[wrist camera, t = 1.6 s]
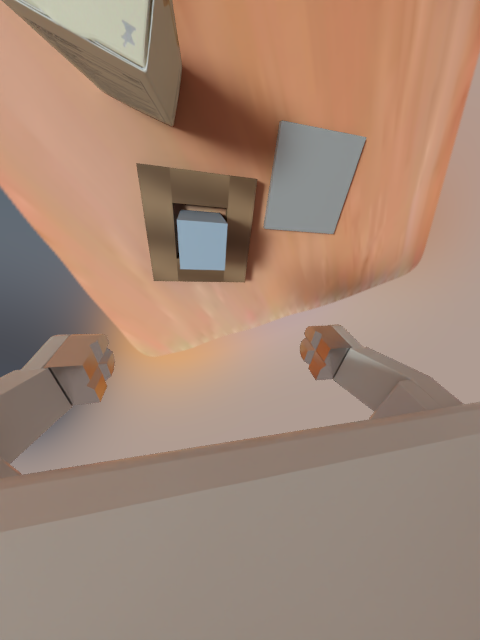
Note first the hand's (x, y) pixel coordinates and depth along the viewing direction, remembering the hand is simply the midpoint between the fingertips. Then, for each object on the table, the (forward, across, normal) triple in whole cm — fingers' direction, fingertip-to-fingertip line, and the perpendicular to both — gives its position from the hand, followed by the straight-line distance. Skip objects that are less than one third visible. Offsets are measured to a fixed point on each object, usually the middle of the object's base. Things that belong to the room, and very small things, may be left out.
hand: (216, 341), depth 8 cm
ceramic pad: (+20, -13, -6) cm, 25 cm away
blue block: (+21, 0, 0) cm, 21 cm away
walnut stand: (+21, 0, 0) cm, 21 cm away
